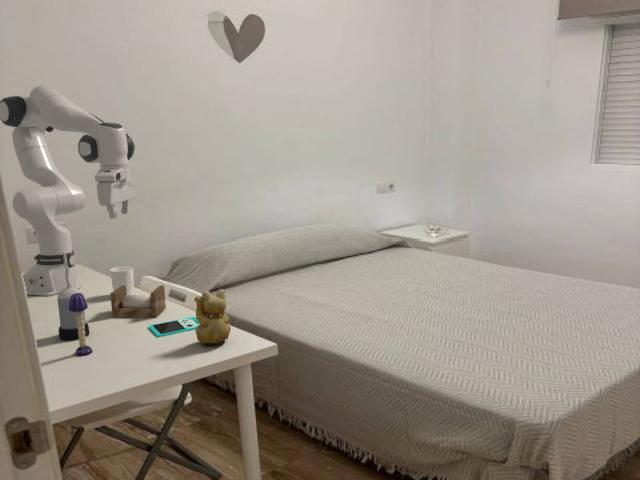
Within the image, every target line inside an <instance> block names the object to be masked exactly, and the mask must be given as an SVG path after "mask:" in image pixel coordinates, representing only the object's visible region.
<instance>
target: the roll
mask: <svg viewBox="0 0 640 480" xmlns="http://www.w3.org/2000/svg"><path fill="white" fill-rule="evenodd" d="M123 308H152V307H151V295H150V294H134V295H125V296H124V298H123Z"/></svg>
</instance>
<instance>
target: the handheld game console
mask: <svg viewBox="0 0 640 480" xmlns="http://www.w3.org/2000/svg"><path fill="white" fill-rule="evenodd" d="M198 325H200V323H199V322H198V320H197V318H196V316H190V317H189V316H188V317H184V318H179V319H173V320H169V321H164V322H159V323H156V324H150V325H148V329H149V330H150V331H151V332H152V333H153V334H154V335H155V337H156V338H161V337H166V336H167V337H168V336H171V335H172V336H173V335H176V333H177V334H181V333H185V331H186V332H190V331H196V327H197V326H198ZM180 332H181V333H180Z"/></svg>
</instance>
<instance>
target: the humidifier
mask: <svg viewBox="0 0 640 480" xmlns="http://www.w3.org/2000/svg"><path fill="white" fill-rule="evenodd" d="M71 256H72V253H71ZM63 258H64V266H65V269H66V273H65V279H66V283H67V287H66V288H65V289H63V290H62V291H61V292H60V293H59V294H58V295H57V307H58V314H59V315H58V316H59V323H60V326H59V327H58V338H59V340H60V341H64V342H71V341H79V335H78V328H77V327H78V325H77V319H76V312H72V311H69V303H70V297H71V295H72V294H75V293H82V291H81V290H80V289H79V288H78V289H77V288H74V287H75V284H74V287H72V286H71V284H70V281H69V268H68V265H67V258H66V252H64V253H63ZM72 265H73V262H72ZM72 268H73V266H72ZM73 270H74V269H73ZM74 273H75V271H74ZM74 283H75V279H74ZM85 311H86V310H83V313H82V314H83V320H84V326H85V329H84V331H85V337H86V338H87V337H88V336H90V326H89V324H88V323H87V322H86V321H87V320H86V313H85Z"/></svg>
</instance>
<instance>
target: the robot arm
mask: <svg viewBox="0 0 640 480" xmlns="http://www.w3.org/2000/svg"><path fill="white" fill-rule="evenodd" d="M0 121H1V122H2V124H4V125H5V126H8V127H12V128H14V129H13V130H12V134H11V137H12V142H13V143H12V144H13V148H14V150H15V151H14V152H15V154H16V158H17V160H18V164H19V166H20V169H21V171H22V174H23V175H24V177H25V178H26V179H27V180H29V181H31V182H35V183H36V184H38V185H39V186H38V187H29V188H25V189H22V190H19V191H17V192H16V193H15V194H14V196H13V197H12V208H13V210H14V212H15V213H16V215H17V216H18V217H20V218H22V219H23V220H25V221H26V222H28V223H29V224H30V225H31V226H32V228H33V230H34V232H35V234H36V238H37V242H38V249H39V253H38V254H37V255H35V256H33V261H35V260H36V262H35V264H34V265H33V266H32V267H31V268H29V269H28V270H27V271H25V273H24V274H23V275H22V277H23V278H24V282H25V286H26V291H27V294H26V295H27V296H28V295H33V296H44V297H45V296H46V297H50V296H53V295H57V294H59V293H60V292H61V291H62V290H63V289H65V288H66V287H67V283H66V279H65V273H66V269H65V266H64V258H63V253H64V252H66V258H67V265H68V268H69V281H70V284H71V286H72V287H74V284H75V287H74V288H77V289H78V290H79V289H80V288H81V285H82V284H81V283H80V281H79V278H78V274H77V271H76V266H75V265H76V260H75V259H76V258H75V252H74V250H73V245H72V235H71V231H70V230H69V229H68V228H67V227H66V226H63V225H61V224H58V223H57V222H56V220H55V217H56V216H63V215H68V214H73V213H76V212H77V211H81V210H83V209H84V207H85V206H86V205H85V204H86V194H85V192H84V191H83V189H82V187H80V186H79V185H77V184H75V183H72V182H71V181H70V180H68V179H67V178H66V177H65V176H64V175H63V174H62V173H61V172H60V170H59V169H58V168H57V166H56V164H55V161H54V160H53V157H52V154H51V152H50V149H49V147H48V144H47V141H46V138H45V131H46V132H47V133H52V132H53V131H54V129H55V130H57V131H59V132H60V131H61V132H72V133H73V132H74V133H83V135H82V136H81V138H80V139H79V141H78V144H77V145H78V146H77V148H78V149H77V150H78V154H79V156H80V157H81V158H82V160H83V161H84V162H86V163H91V164H99V167H100V168H99V170H98V171H97V173H95V174H94V181H95V182H96V183H97V184H96V193H97V200H98V203H99V205H100V206H102V207H106V210H107V212H108V214H109V219H116V218H117V217H118V216H117V212H116V210H115V207H116V206H115V205H118V204H119V203H121V204H122V205H121V209H120V211H121V214H122V215H126V214H128V213H129V206H130V200H131V199H134V198H135V189H134V183H133V179H132V177H131V172H130V162H129V160H131V159H132V158H133V155H134V153H135V149H136V148H135V147H136V146H135V142H134V141H133V139H132V138H131V136H130V135H129V134H128V133H126V131H125V127H124V126H123V125H122V124H119V123H116V122H105V121H104V120H103V119H101V118H99V117H98V116H96V115H95V114H93V113H91V112H89V111H87V110H85V109H84V108H82V107H80V106H78V105H77V104H75V103H74V102H72V101H71V100H69V99H68V98H67V97H66V96H65V95H64V94H62V93H61V92H60V91H58V90H57V89H55V88H53V87H51V86H49V85H44V84H42V85H37V86H35V87H34V88H33V89H32V90H31V91H30V93H29V96H20V95H14V96H13V95H12V96H7V97H4V98H2V99H1V100H0ZM71 253H72V256H71ZM72 262H73V265H72ZM72 266H73V268H72ZM73 269H74V270H73ZM74 271H75V273H74ZM74 279H75V283H74Z"/></svg>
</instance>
